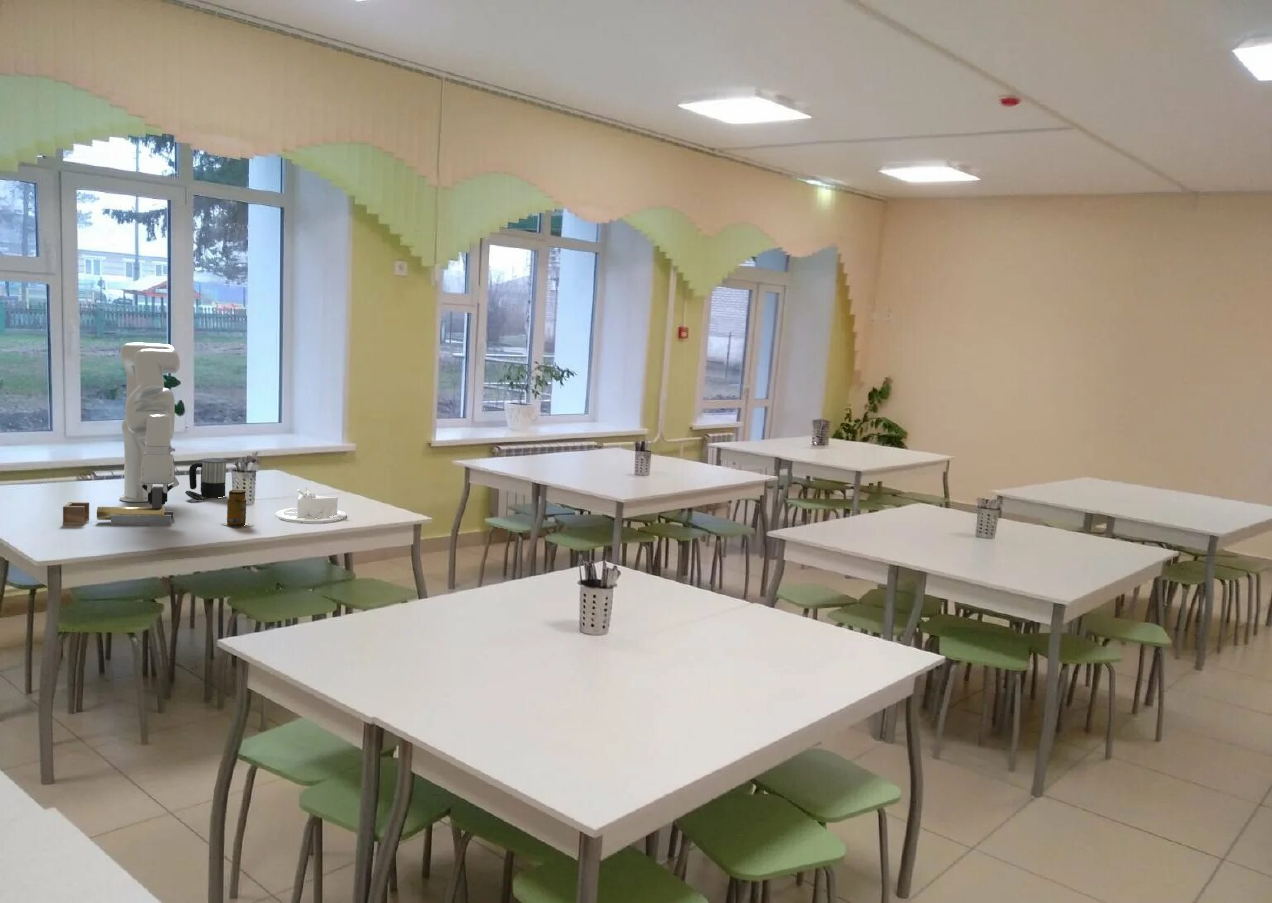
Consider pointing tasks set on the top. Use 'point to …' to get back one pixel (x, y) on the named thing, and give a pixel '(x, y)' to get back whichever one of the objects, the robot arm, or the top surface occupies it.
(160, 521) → the channel
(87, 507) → the socket
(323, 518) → the dish
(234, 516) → the condiment
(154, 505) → the bolt
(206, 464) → the milk frother
